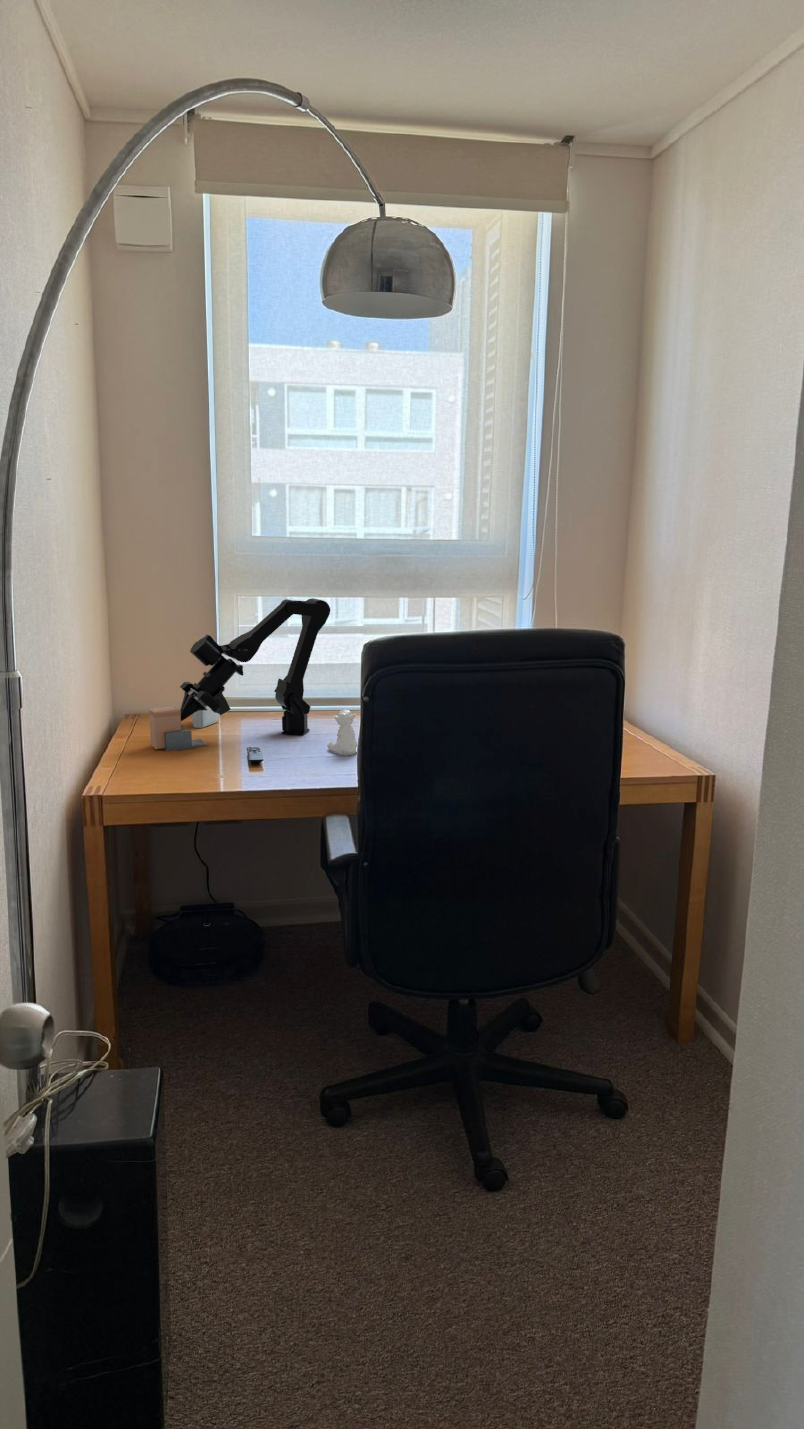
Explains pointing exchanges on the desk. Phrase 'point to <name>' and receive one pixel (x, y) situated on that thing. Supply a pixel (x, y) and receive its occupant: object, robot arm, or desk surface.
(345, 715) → the white creature statuette
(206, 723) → the photo printer
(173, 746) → the chute
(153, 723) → the block
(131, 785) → the desk surface
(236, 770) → the desk surface
